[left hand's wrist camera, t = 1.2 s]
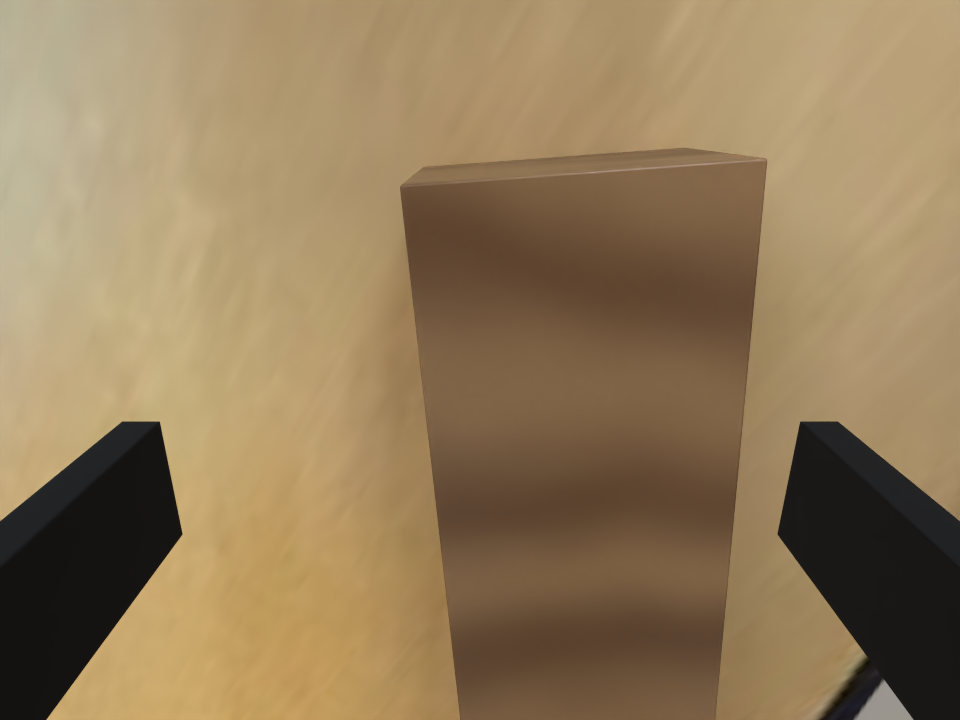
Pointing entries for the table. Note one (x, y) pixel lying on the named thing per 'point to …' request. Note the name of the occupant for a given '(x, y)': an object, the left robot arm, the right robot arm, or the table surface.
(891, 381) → the table surface
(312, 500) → the table surface
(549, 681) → the slab
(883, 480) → the left robot arm
